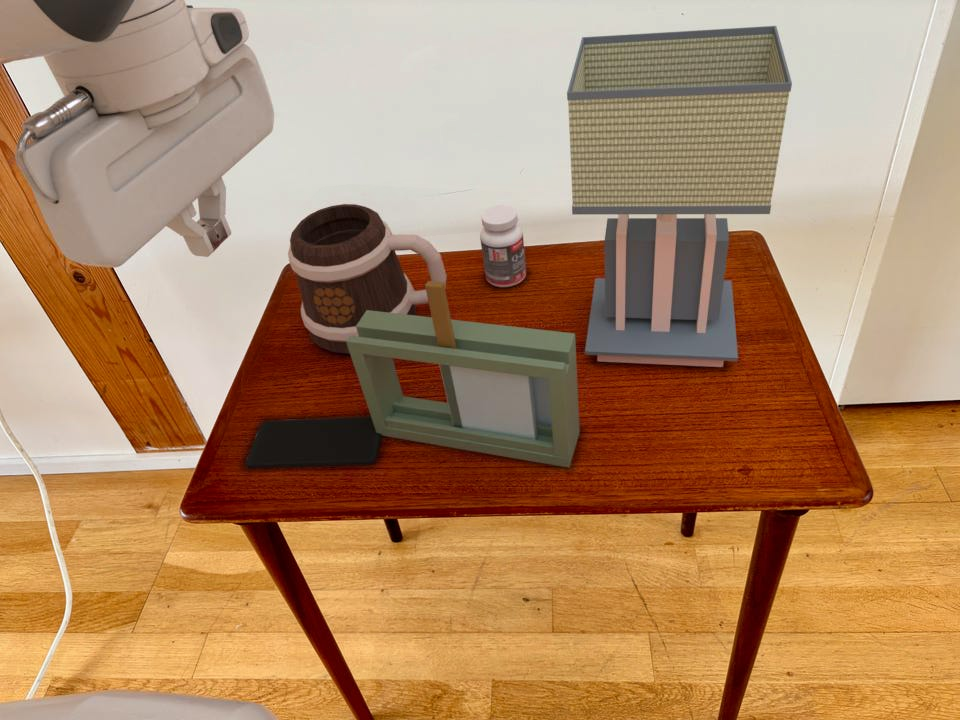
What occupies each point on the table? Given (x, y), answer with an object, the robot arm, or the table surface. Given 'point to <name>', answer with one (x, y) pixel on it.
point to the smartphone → (315, 443)
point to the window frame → (477, 348)
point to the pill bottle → (502, 246)
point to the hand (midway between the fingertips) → (212, 245)
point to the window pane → (481, 385)
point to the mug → (353, 271)
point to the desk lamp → (673, 180)
